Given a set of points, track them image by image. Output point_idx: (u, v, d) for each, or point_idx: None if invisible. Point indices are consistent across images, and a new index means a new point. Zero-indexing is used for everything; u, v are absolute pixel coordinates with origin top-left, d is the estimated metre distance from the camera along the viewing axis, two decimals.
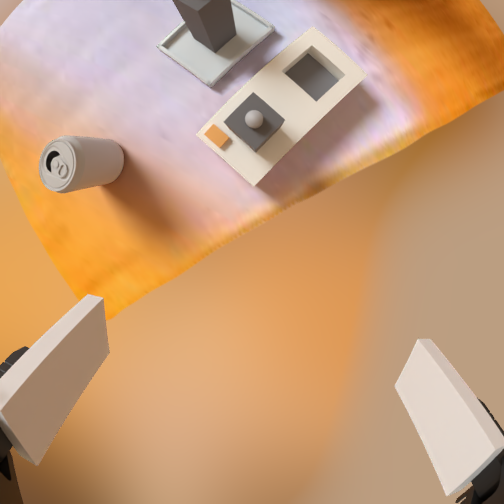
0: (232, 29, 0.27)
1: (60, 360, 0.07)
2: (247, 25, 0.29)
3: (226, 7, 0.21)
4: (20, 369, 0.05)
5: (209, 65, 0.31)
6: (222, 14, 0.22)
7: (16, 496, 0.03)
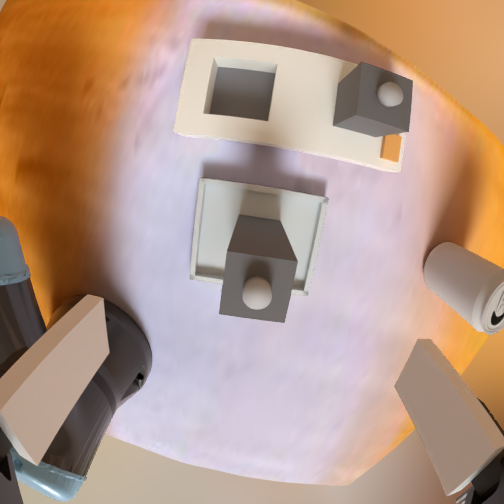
0: (243, 219, 0.25)
1: (60, 360, 0.07)
2: (218, 210, 0.27)
3: (242, 237, 0.19)
4: (20, 369, 0.05)
5: (299, 216, 0.27)
6: (253, 236, 0.20)
7: (16, 496, 0.03)
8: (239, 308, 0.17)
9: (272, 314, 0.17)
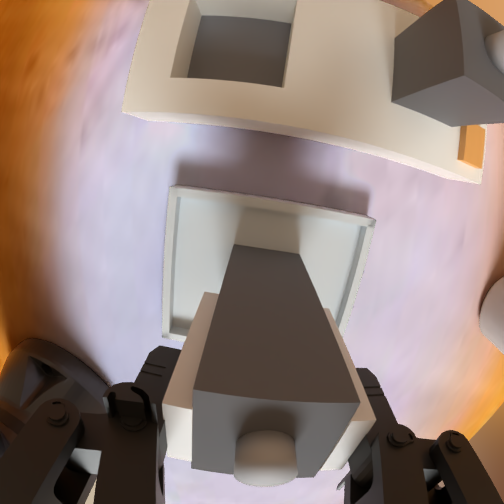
0: (239, 257, 0.15)
1: None
2: (200, 238, 0.17)
3: (234, 318, 0.09)
4: (188, 366, 0.07)
5: (329, 246, 0.17)
6: (258, 310, 0.10)
7: None
8: (228, 466, 0.07)
9: None
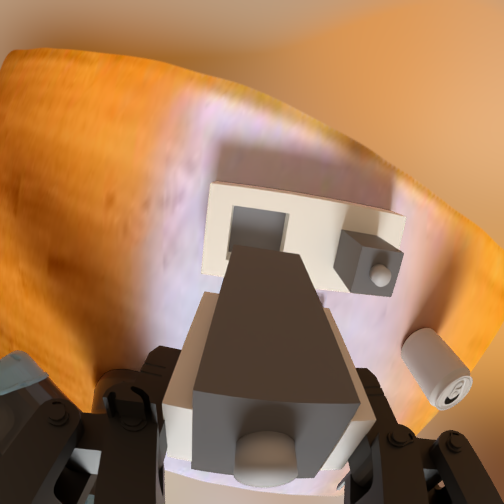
0: (239, 258, 0.15)
1: None
2: None
3: (234, 319, 0.09)
4: (188, 366, 0.07)
5: None
6: (258, 310, 0.10)
7: None
8: (228, 466, 0.07)
9: None
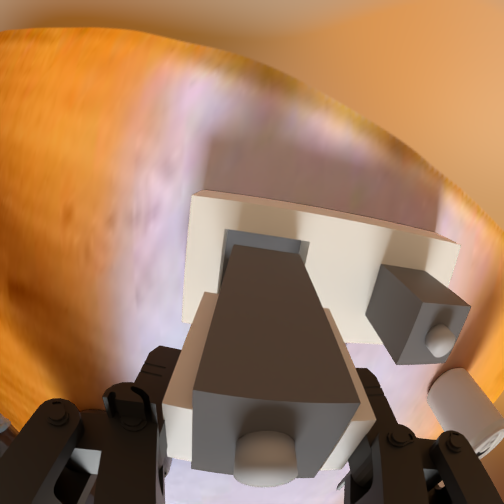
0: (239, 257, 0.15)
1: None
2: None
3: (234, 318, 0.09)
4: (188, 366, 0.07)
5: None
6: (258, 310, 0.10)
7: None
8: (228, 466, 0.07)
9: None
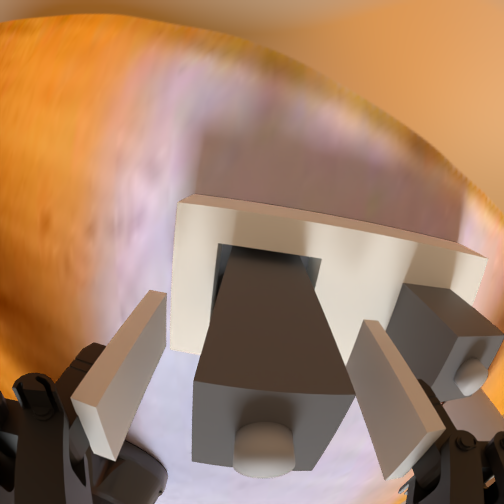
0: (239, 256, 0.15)
1: (138, 352, 0.08)
2: None
3: (234, 314, 0.09)
4: (106, 364, 0.07)
5: None
6: (257, 306, 0.10)
7: (88, 502, 0.04)
8: (228, 458, 0.07)
9: None
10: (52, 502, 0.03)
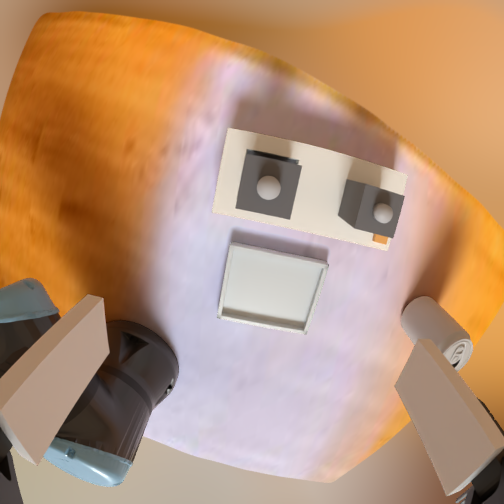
0: None
1: (61, 359, 0.07)
2: (242, 268, 0.35)
3: None
4: (20, 369, 0.05)
5: (305, 276, 0.35)
6: None
7: (16, 496, 0.03)
8: (252, 203, 0.20)
9: (280, 211, 0.21)
10: None
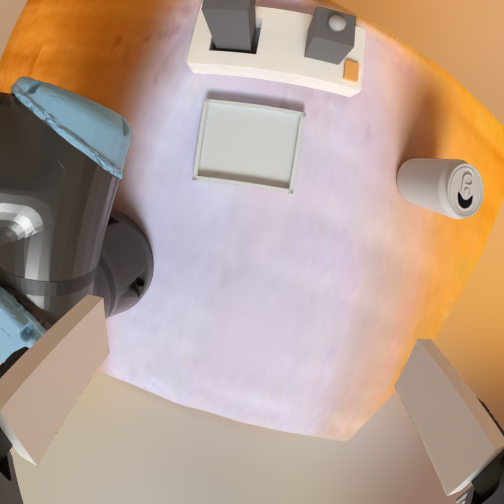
0: None
1: (60, 360, 0.07)
2: (218, 124, 0.32)
3: None
4: (20, 369, 0.05)
5: (283, 128, 0.32)
6: None
7: (15, 496, 0.03)
8: (215, 4, 0.17)
9: (239, 6, 0.17)
10: None
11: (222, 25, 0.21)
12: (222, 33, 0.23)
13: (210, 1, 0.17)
